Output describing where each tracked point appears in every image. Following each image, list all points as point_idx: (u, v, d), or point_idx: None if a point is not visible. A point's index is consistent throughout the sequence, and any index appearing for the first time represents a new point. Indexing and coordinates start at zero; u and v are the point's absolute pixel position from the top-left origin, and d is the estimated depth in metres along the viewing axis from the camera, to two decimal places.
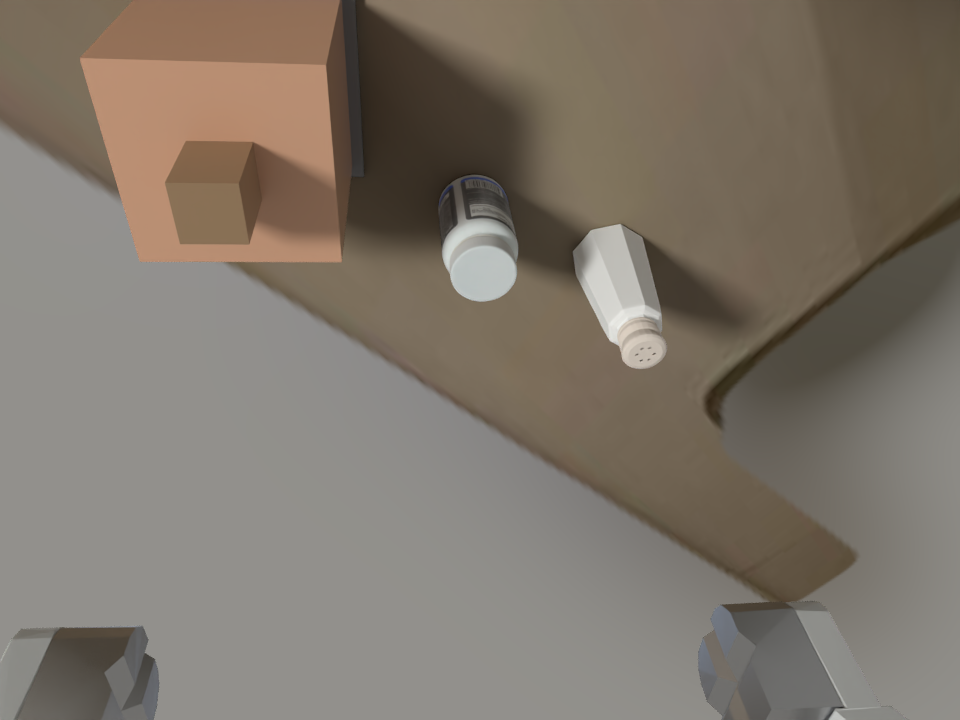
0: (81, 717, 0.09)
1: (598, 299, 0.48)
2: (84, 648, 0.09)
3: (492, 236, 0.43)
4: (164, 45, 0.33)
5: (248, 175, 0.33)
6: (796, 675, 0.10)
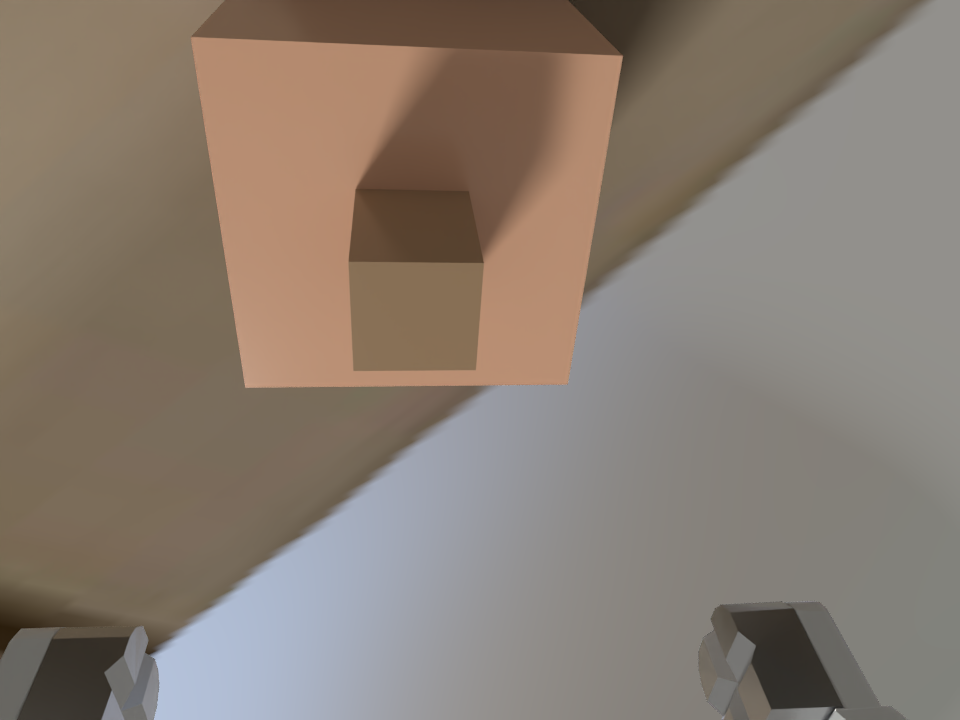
0: (81, 717, 0.09)
1: None
2: (84, 648, 0.09)
3: None
4: None
5: (380, 222, 0.18)
6: (796, 674, 0.10)
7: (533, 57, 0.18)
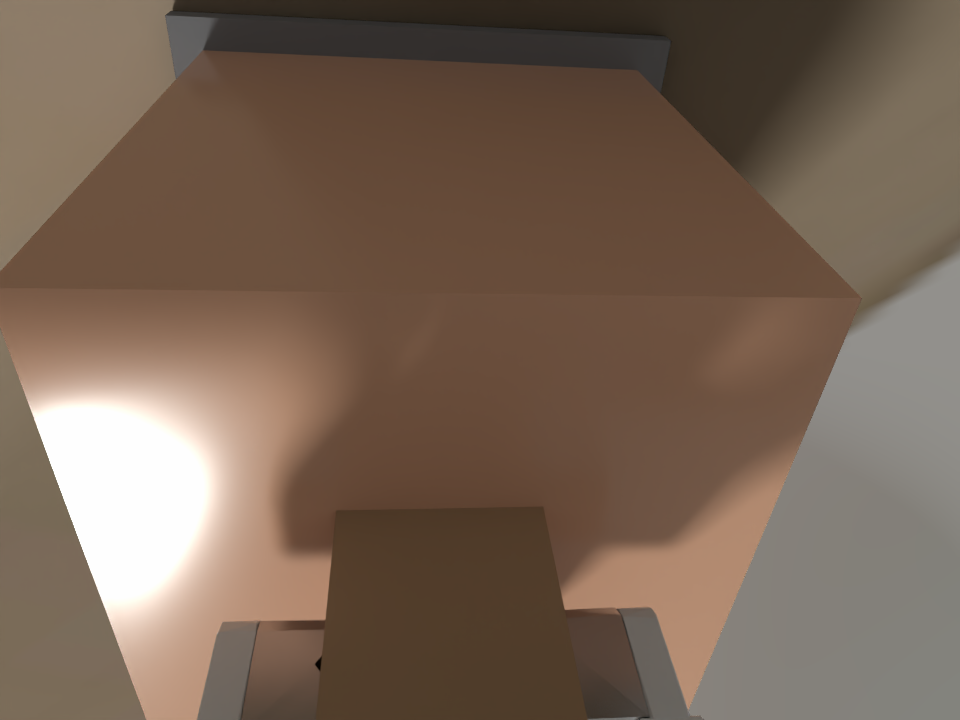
0: (303, 706, 0.09)
1: None
2: (290, 640, 0.09)
3: None
4: None
5: (380, 630, 0.09)
6: (608, 682, 0.09)
7: (686, 303, 0.09)
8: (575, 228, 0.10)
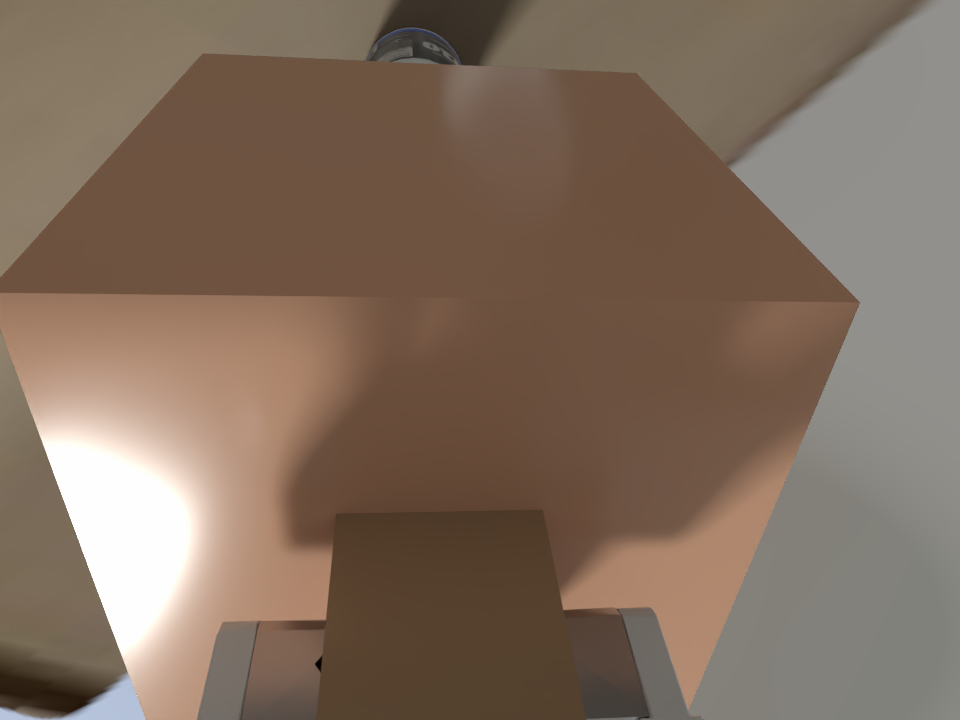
0: (303, 707, 0.09)
1: None
2: (290, 640, 0.09)
3: None
4: None
5: (380, 633, 0.09)
6: (608, 682, 0.09)
7: (685, 308, 0.09)
8: (574, 232, 0.10)
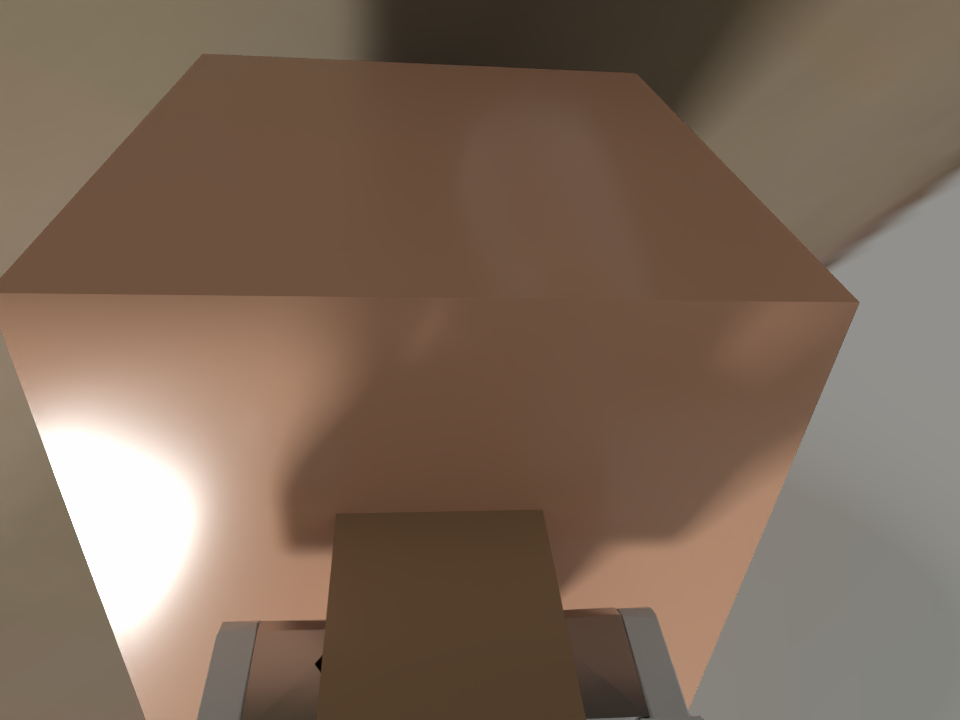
0: (303, 706, 0.09)
1: None
2: (290, 640, 0.09)
3: None
4: None
5: (380, 633, 0.09)
6: (608, 683, 0.09)
7: (685, 308, 0.09)
8: (574, 232, 0.10)
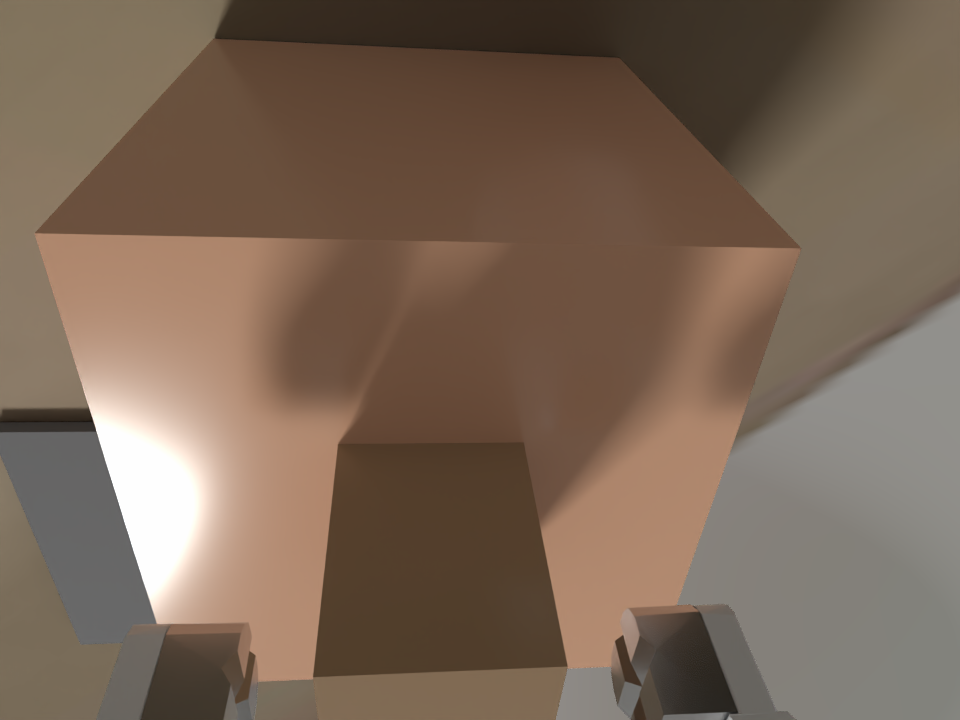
0: (205, 711, 0.09)
1: None
2: (198, 644, 0.09)
3: None
4: None
5: (376, 539, 0.10)
6: (693, 679, 0.09)
7: (646, 252, 0.10)
8: (551, 191, 0.11)
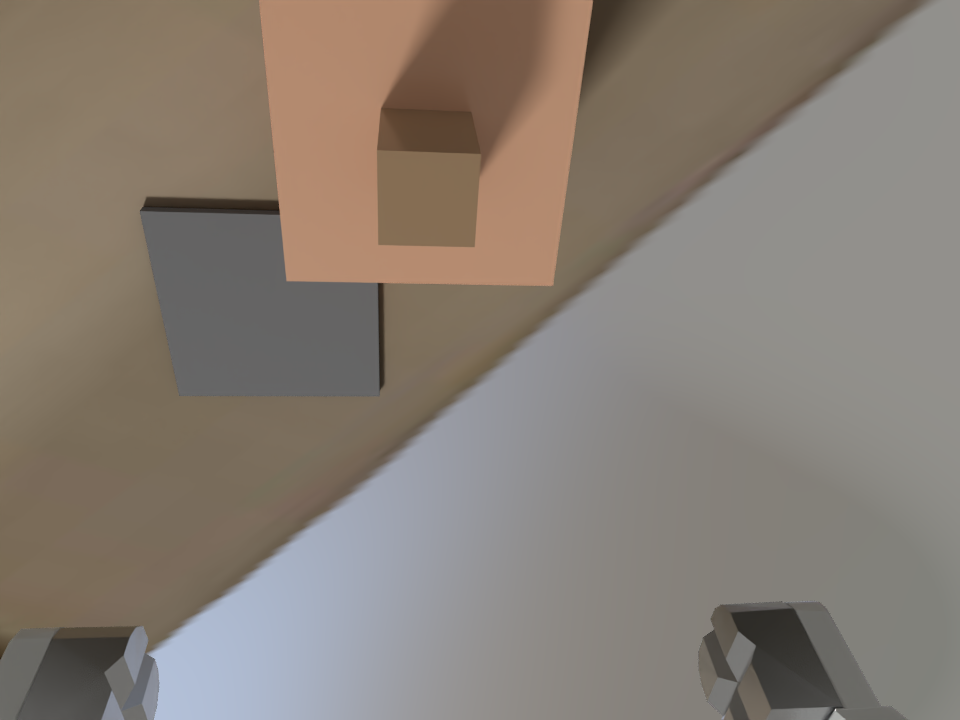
0: (81, 717, 0.09)
1: None
2: (84, 648, 0.09)
3: None
4: None
5: (400, 128, 0.23)
6: (796, 674, 0.10)
7: (522, 0, 0.23)
8: None
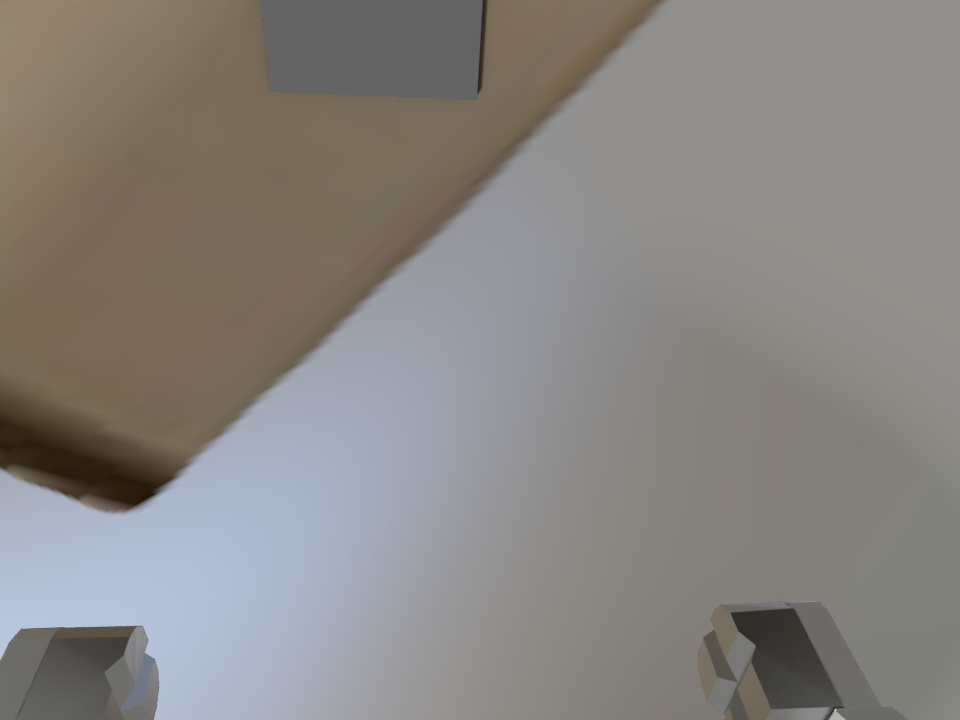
0: (81, 717, 0.09)
1: None
2: (84, 648, 0.09)
3: None
4: None
5: None
6: (797, 674, 0.10)
7: None
8: None
